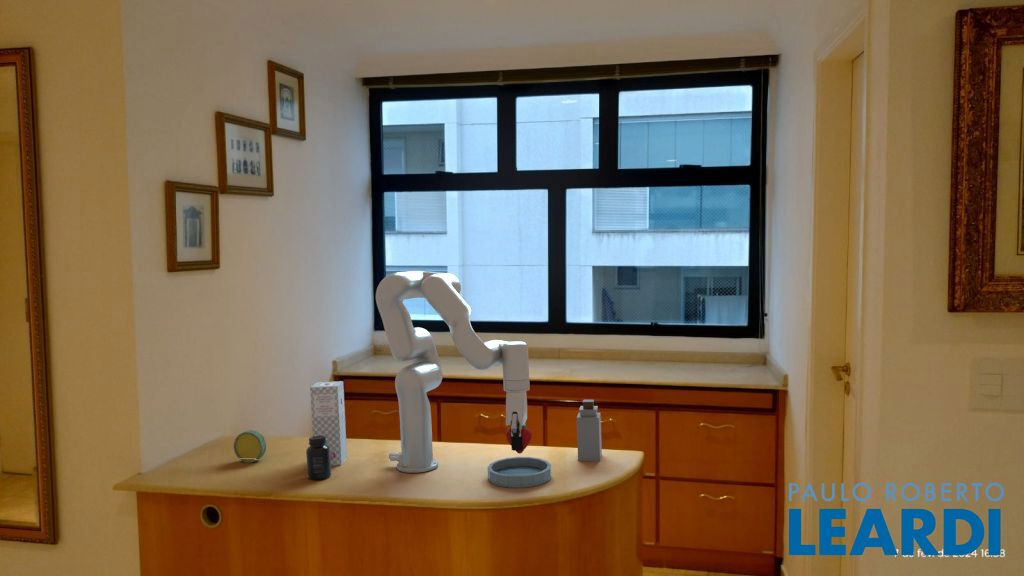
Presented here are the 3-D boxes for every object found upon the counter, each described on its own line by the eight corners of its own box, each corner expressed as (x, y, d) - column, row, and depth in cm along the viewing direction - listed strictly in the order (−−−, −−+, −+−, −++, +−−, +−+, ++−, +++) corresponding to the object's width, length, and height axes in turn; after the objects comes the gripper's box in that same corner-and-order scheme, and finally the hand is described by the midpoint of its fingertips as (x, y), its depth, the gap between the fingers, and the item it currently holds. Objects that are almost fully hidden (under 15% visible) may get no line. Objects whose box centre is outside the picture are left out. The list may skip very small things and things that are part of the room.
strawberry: (508, 450, 208) (507, 416, 208) (534, 450, 207) (532, 416, 206) (504, 456, 202) (503, 421, 202) (530, 456, 201) (529, 421, 200)
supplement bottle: (335, 474, 214) (333, 434, 213) (322, 481, 208) (320, 441, 207) (316, 472, 216) (314, 433, 216) (302, 479, 210) (300, 439, 209)
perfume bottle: (600, 461, 217) (598, 403, 216) (578, 460, 219) (576, 403, 218) (601, 455, 224) (600, 398, 223) (580, 454, 225) (578, 398, 224)
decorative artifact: (234, 462, 230) (232, 432, 230) (246, 456, 237) (244, 426, 237) (262, 463, 228) (261, 432, 228) (274, 456, 235) (272, 426, 235)
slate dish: (482, 487, 198) (482, 475, 197) (495, 467, 215) (494, 456, 215) (547, 488, 195) (546, 476, 194) (554, 468, 212) (553, 457, 212)
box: (314, 466, 223) (310, 387, 222) (320, 458, 231) (316, 382, 230) (341, 465, 223) (337, 386, 222) (346, 457, 232) (343, 381, 230)
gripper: (508, 379, 213) (511, 438, 213) (498, 391, 196) (500, 455, 197) (533, 379, 211) (536, 439, 212) (525, 390, 194) (527, 455, 195)
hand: (519, 446), depth 204 cm, fingers closed on strawberry, 6 cm apart
